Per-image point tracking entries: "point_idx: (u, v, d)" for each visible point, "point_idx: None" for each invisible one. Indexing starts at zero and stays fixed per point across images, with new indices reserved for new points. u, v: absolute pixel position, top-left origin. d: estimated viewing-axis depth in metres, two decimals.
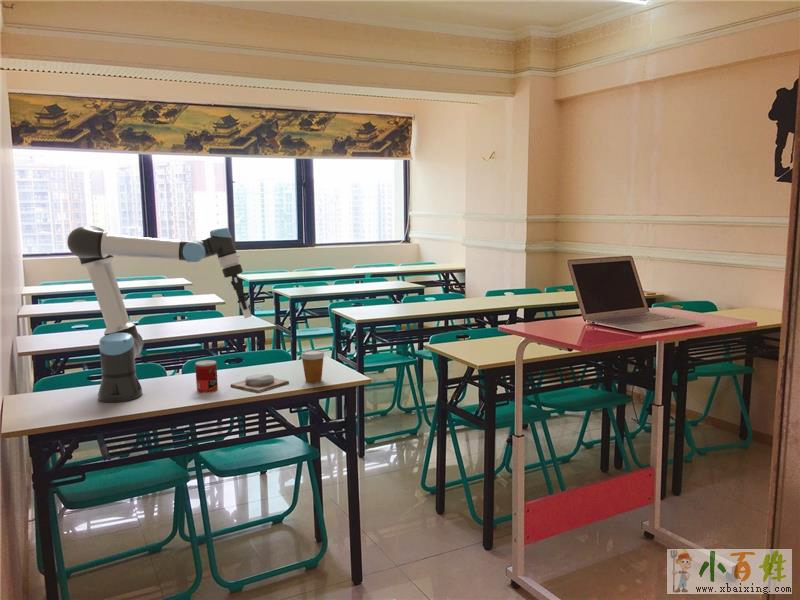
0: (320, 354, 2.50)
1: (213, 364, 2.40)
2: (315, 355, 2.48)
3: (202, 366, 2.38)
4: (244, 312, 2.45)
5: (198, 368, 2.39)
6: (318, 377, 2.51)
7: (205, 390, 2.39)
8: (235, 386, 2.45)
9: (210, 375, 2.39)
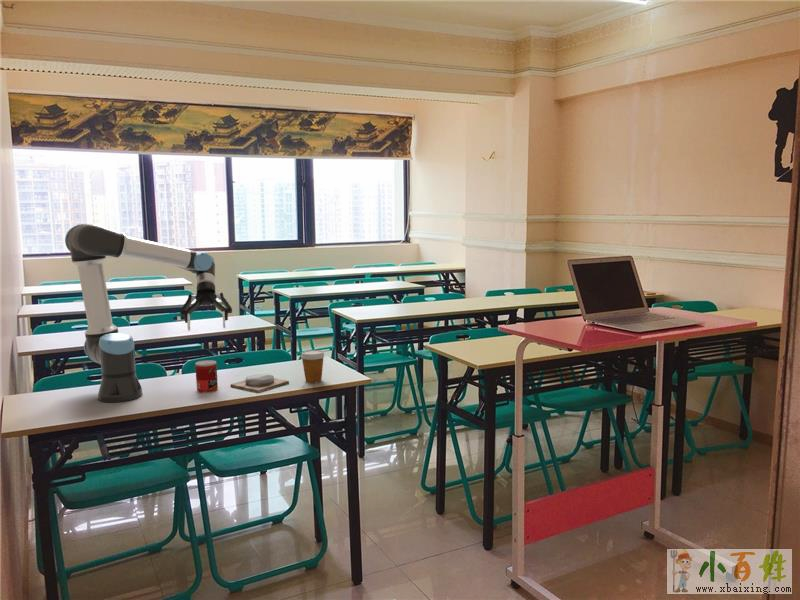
0: (320, 354, 2.50)
1: (213, 364, 2.40)
2: (315, 355, 2.48)
3: (202, 366, 2.38)
4: (224, 320, 2.53)
5: (198, 368, 2.39)
6: (318, 377, 2.51)
7: (205, 390, 2.39)
8: (235, 386, 2.45)
9: (210, 375, 2.39)
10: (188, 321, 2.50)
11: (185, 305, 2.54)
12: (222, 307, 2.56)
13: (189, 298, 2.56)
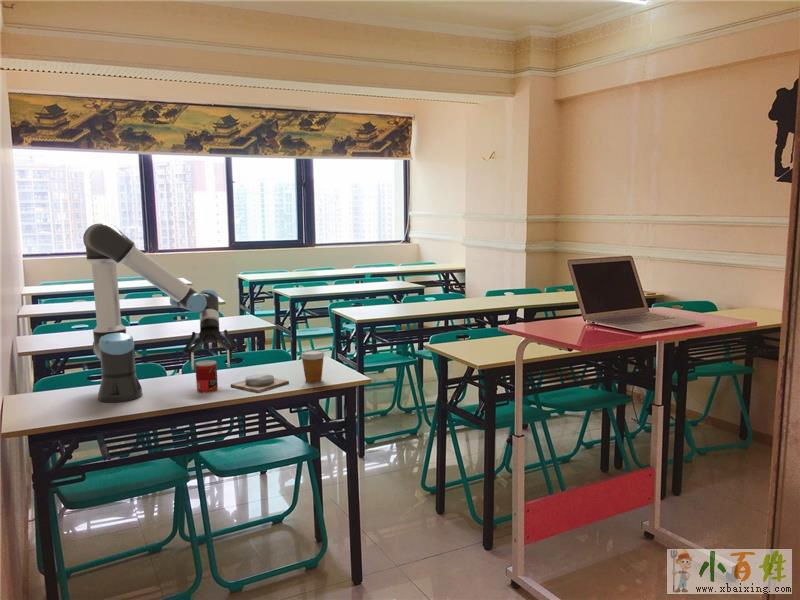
0: (320, 354, 2.50)
1: (213, 364, 2.40)
2: (315, 355, 2.48)
3: (202, 366, 2.38)
4: None
5: (198, 368, 2.39)
6: (318, 377, 2.51)
7: (205, 390, 2.39)
8: (235, 386, 2.45)
9: (210, 375, 2.39)
10: (192, 360, 2.45)
11: (189, 343, 2.49)
12: (226, 345, 2.52)
13: (193, 336, 2.52)
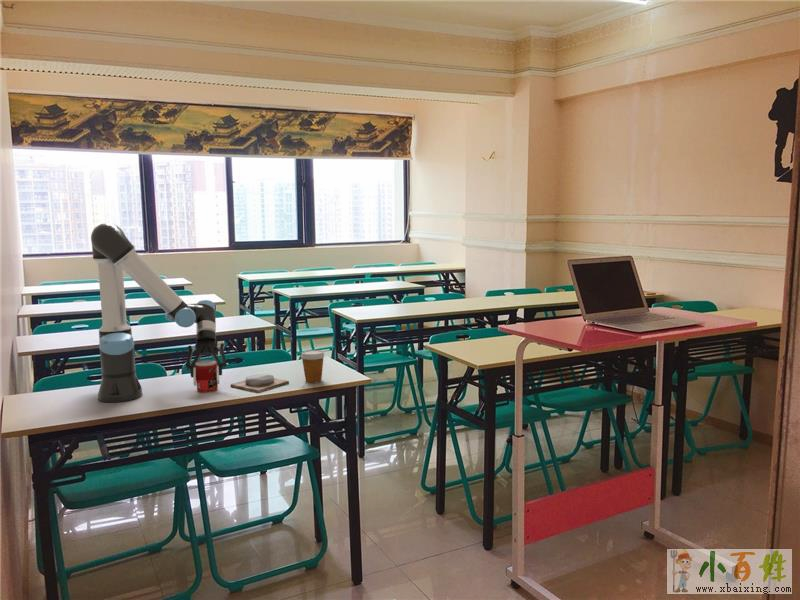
0: (320, 354, 2.50)
1: (213, 364, 2.40)
2: (315, 355, 2.48)
3: (202, 366, 2.38)
4: (218, 376, 2.41)
5: (198, 368, 2.39)
6: (318, 377, 2.51)
7: (205, 390, 2.39)
8: (235, 386, 2.45)
9: (210, 375, 2.39)
10: (194, 376, 2.39)
11: (188, 358, 2.43)
12: (217, 360, 2.45)
13: (190, 349, 2.46)
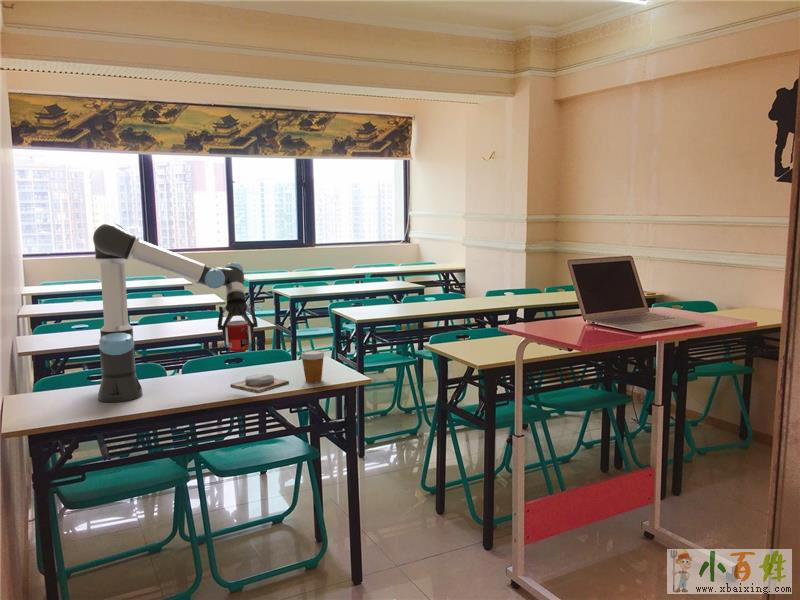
0: (320, 354, 2.50)
1: (245, 323, 2.42)
2: (315, 355, 2.48)
3: (234, 325, 2.40)
4: (250, 335, 2.44)
5: (230, 327, 2.41)
6: (318, 377, 2.51)
7: (237, 349, 2.41)
8: (235, 386, 2.45)
9: (242, 335, 2.41)
10: (226, 335, 2.41)
11: (220, 318, 2.45)
12: (248, 320, 2.47)
13: (221, 310, 2.48)
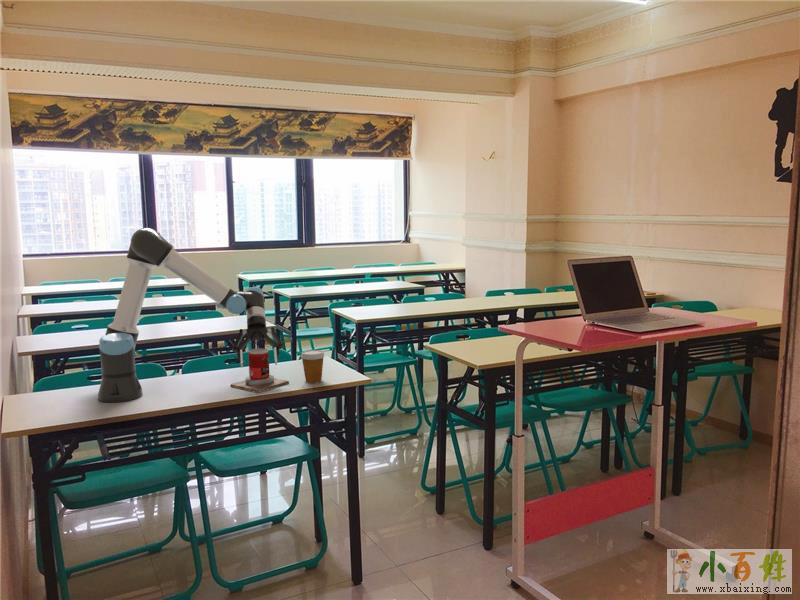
0: (320, 354, 2.50)
1: (266, 352, 2.45)
2: (315, 355, 2.48)
3: (255, 354, 2.43)
4: (276, 357, 2.48)
5: (251, 356, 2.44)
6: (318, 377, 2.51)
7: (258, 377, 2.45)
8: (235, 386, 2.45)
9: (263, 363, 2.45)
10: (241, 357, 2.44)
11: (237, 340, 2.49)
12: (273, 343, 2.51)
13: (240, 333, 2.51)
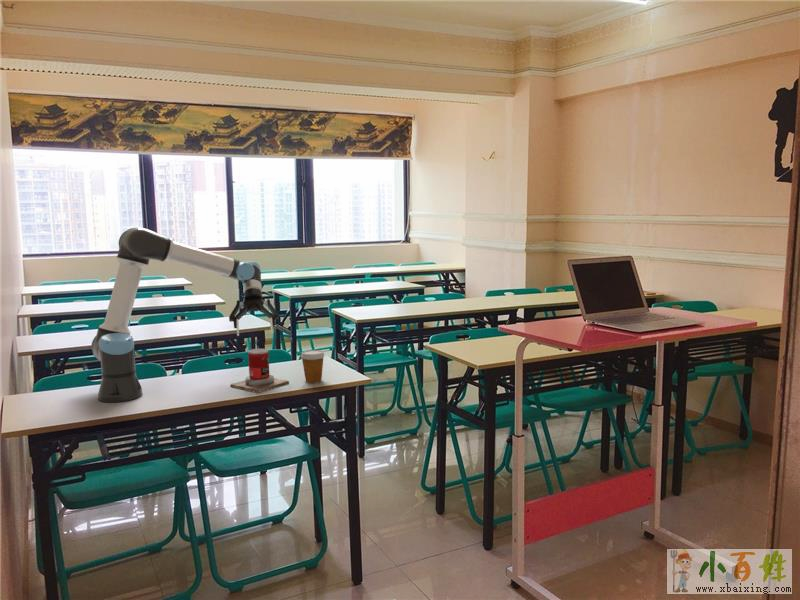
0: (320, 354, 2.50)
1: (266, 352, 2.46)
2: (315, 355, 2.48)
3: (255, 354, 2.44)
4: (272, 326, 2.59)
5: (251, 356, 2.44)
6: (318, 377, 2.51)
7: (258, 377, 2.45)
8: (235, 386, 2.45)
9: (263, 363, 2.45)
10: (237, 326, 2.55)
11: (234, 311, 2.60)
12: (269, 313, 2.62)
13: (237, 304, 2.63)
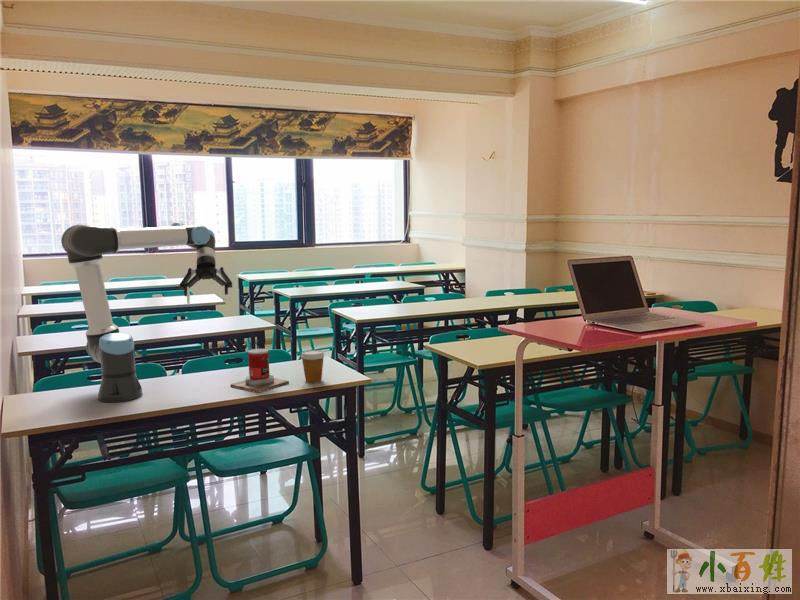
0: (320, 354, 2.50)
1: (266, 352, 2.46)
2: (315, 355, 2.48)
3: (255, 354, 2.44)
4: (224, 294, 2.50)
5: (251, 356, 2.44)
6: (318, 377, 2.51)
7: (258, 377, 2.45)
8: (235, 386, 2.45)
9: (263, 363, 2.45)
10: (188, 294, 2.46)
11: (185, 278, 2.51)
12: (222, 281, 2.53)
13: (189, 272, 2.53)
